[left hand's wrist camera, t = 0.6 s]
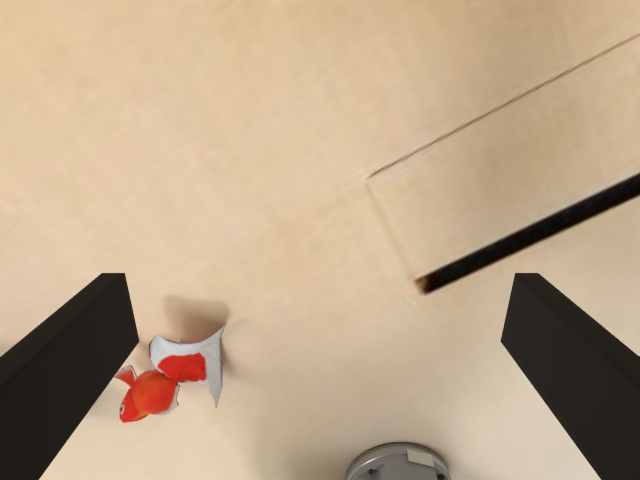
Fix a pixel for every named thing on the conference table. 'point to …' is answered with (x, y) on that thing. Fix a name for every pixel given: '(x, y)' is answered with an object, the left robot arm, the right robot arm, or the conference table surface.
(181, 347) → the fish
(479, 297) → the conference table surface
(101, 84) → the conference table surface
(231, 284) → the conference table surface
